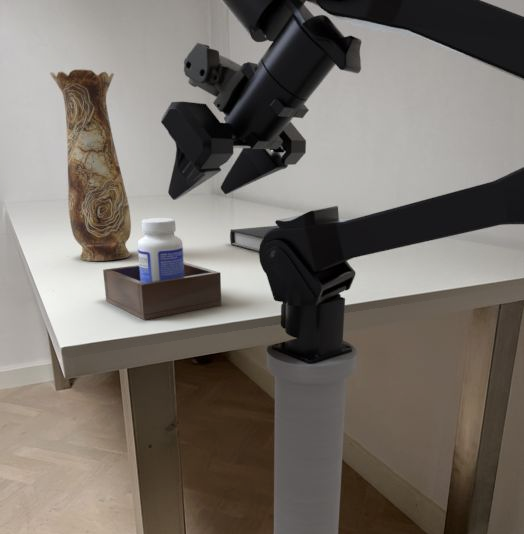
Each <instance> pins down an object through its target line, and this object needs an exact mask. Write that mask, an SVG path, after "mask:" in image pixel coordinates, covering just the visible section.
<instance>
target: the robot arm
mask: <svg viewBox="0 0 524 534" xmlns="http://www.w3.org/2000/svg"><path fill="white" fill-rule="evenodd" d="M220 1H221V3H222V4H223V5H224V6H225V7H226V9H227V10H228V11H229V13H230V14H231V15H232V16H233V18H235V20H236V21H237V22H238V24H239V25H240V26H241V27H242V28H243V30H244V31H245V32H246V33H247V35H248V36H249V37H250V38H251V39H252V40H253V41H254V42H255V43H264V42H267V41H269V42H271V44H270V46H269V47H268V48H267V49H266V51H265V53H264V54H263V55H262V57H261V58H260V59H259V60H258V62H257V63H254V62H252V61H251V62H250V61H247V62H244V63H243V64H239V63H237V62H235V61H233V60H231V59H230V58H227V57H225V56H223V55H220V52H219V50H218V49H214V48H211V47H210V45H208V44H204V43H200V42H196V44H195V45H194V46H193V47H192V49H191V50H190V52H189V53H188V54H187V56H186V57H185V58H184V60H183V65H184V66H183V72H184V75H185V77H187V78H188V82H187V83H188V84H189V85H190V86H192V87H194V88H197V87H198V88H200V89H201V90H202V91H205V92H207V93H209V94H210V95H212V96H214V97H215V99H214V101H213V102H212V103H213V105H214V106H215V107H216V109H217V110H218V111H219V112H220V113H223V114H224V117H223V119H224V122H221V121H220V120H219V119H218V117H217V116H216V115H215V114H214V112H213V111H212V110H211V109H210V107H209V106H208V104H207V103H201V102H191V101H171V102H170V104H169V106H168V107H167V109H166V110H165V112H164V113H163V115H162V117H161V120H160V123H161V125H162V126H164V129H166V131H167V133H168V135H169V136H170V137H171V139H172V140H173V141H174V142H175V147H176V150H175V158H174V164H173V168H172V172H171V177H170V181H169V186H168V190H167V193H168V195H169V197H170V198H171V199H172V200H173V201H176V200H178V199H180V198H182V197H184V196H186V195H187V194H188V193H190V192H191V191H193V190H194V189H195V188H197V187H199V186H201V185H202V184H203V183H205V182H206V181H208V180H210V179H211V178H213V177H214V176H216V175H218V174H219V173H220V172H221V171H222V169H221V166H223V165H225V164H226V163H227V162H229V160H230V159H231V158H232V156H233V155H234V149H241V151H240V153H238V156H237V158H236V159H235V161H234V163H233V164H232V166H231V168H230V169H229V171H228V172H227V174H226V175H225V177H224V179H223V182H222V183H221V185H220V190H221V191H222V193H223V194H225V195H229V194H230V193H233V192H235V191H237V190H240V189H241V188H243V187H246V186H248V185H249V184H252V183H254V182H257V181H258V180H260V179H262V178H265V177H268V176H270V175H272V174H274V173H276V172H279V171H282V170H285V169H287V168H288V167H289V166H291V165H293V166H295V165H297V163H298V162H300V160H301V159H302V158H303V156H304V155H305V154H306V152H307V151H306V150H307V140H306V139H305V138H304V136H303V135H302V133H300V130H298V129H297V128H296V126H295V125H294V124H293V122H291V121H292V120H293V119H294V118H298V119H304V117H305V116H306V115H307V113H308V112H309V108H308V107H307V106H306V102H308V100H309V99H310V98H311V97H312V95H313V94H314V93H315V92H316V90H317V89H318V88H319V86H320V85H321V84H322V83H323V81H324V80H325V79H326V77H327V76H328V75H329V74H330V73H331V72H332V70H333V69H334V68H335V67H337V68H338V69H339V70H340V71H344V72H348V73H352V74H356V75H357V74H359V73H360V72H361V71H362V64H361V63H362V61H361V60H362V59H361V46H362V39H361V38H359V37H355V36H353V35H348V36H345V35H344V34H343V33H342V32H341V31H340V30H339V28H338V27H337V26H336V25H335V23H333V21H332V20H331V19H330V17H329V16H327V15H324V14H319V15H314V14H313V13H312V12H311V10H309V8H307V6H306V5H305V3H306V2H308V3H310V4H312V5H315V6H316V7H319V8H320V9H321V10H322V11H324V12H326V13H327V14H329V15H330V16H333V17H335V18H337V19H339V20H342V21H344V22H347V23H348V24H350V25H352V26H355V27H358V28H360V29H367V30H372V31H378V32H382V33H383V32H384V33H387V34H388V33H389V34H398V35H406V36H412V37H417V38H421V39H424V40H426V41H428V42H430V43H433V44H435V45H438V46H440V47H442V48H445V49H447V50H450V51H451V52H455V53H457V54H460V55H462V56H464V57H467V58H469V59H471V60H474V61H476V62H478V63H480V64H483V65H485V66H488V67H490V68H492V69H496V70H498V71H500V72H503V73H504V74H507V75H510V76H512V77H514V78H516V79H519V80H522V81H524V15H521V14H518V13H516V12H512V11H510V10H507V9H505V8H503V7H499V6H497V5H494V4H492V3H488V2H486V1H484V0H220ZM274 223H275V225H276V226H278V228H274V229H272V230H270V231H268V232H267V233H266V234H265V235H264V236H263V240H262V242H261V244H260V249H259V252H258V258H259V264H260V266H261V268H262V270H263V272H264V273H265V275H266V278H267V281H268V285H269V287H270V288H269V289H270V291H271V295H272V297H273V300H274V301H275V302H280V303H281V305H280V327H281V328H282V329H285V330H284V331H285V334H286V335H288V336H290V337H292V339H289V340H286V341H281V342H277V343H274V344H270V345H271V348H272V349H274V350H276V351H278V352H281V353H283V354H286V355H288V356H290V357H293V358H295V359H297V360H300V361H302V362H305V363H307V364H314V363H317V362H320V361H324V360H327V359H330V358H333V357H337V356H340V355H343V354H346V353H350V352H352V351H353V347H352V346H349V345H346V344H343V341H344V327H345V307H346V298H345V297H344V296H343V297H342V296H341V294H340V293H343V292H345V291H349V290H350V289H351V286H352V284H353V282H354V279H355V277H356V274H357V273H356V270H354V268H353V267H352V266H351V265H350V264H349V262H348V261H349V260H352V259H354V258H359V257H364V256H369V255H372V254H377V253H381V252H386V251H390V250H395V249H400V248H404V247H408V246H409V247H410V246H413V245H417V244H422V243H426V242H429V241H431V242H432V241H435V240H439V239H444V238H448V237H453V236H458V235H461V234H466V233H472V232H475V231H479V230H484V229H488V228H489V229H490V228H493V227H498V226H504V225H505V226H507V225H524V166H523V167H520V168H518V169H516V170H514V171H513V172H510V173H508V174H506V175H504V176H501V177H499V178H497V179H495V180H493V181H489V182H485V183H482V184H478V185H475V186H471V187H466V188H463V189H460V190H455V191H452V192H448V193H445V194H441V195H438V196H433V197H430V198H426V199H423V200H418V201H414V202H410V203H408V204H404V205H400V206H396V207H391V208H389V209H385V210H382V211H377V212H374V213H371V214H367V215H363V216H359V217H353V218H340V217H339V205H334V206H328V207H323V208H318V209H313V210H310V211H308V212H305V213H303V214H301V215H296V216H289V217H285V218H280V219H276V220H275V221H274Z"/></svg>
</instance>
